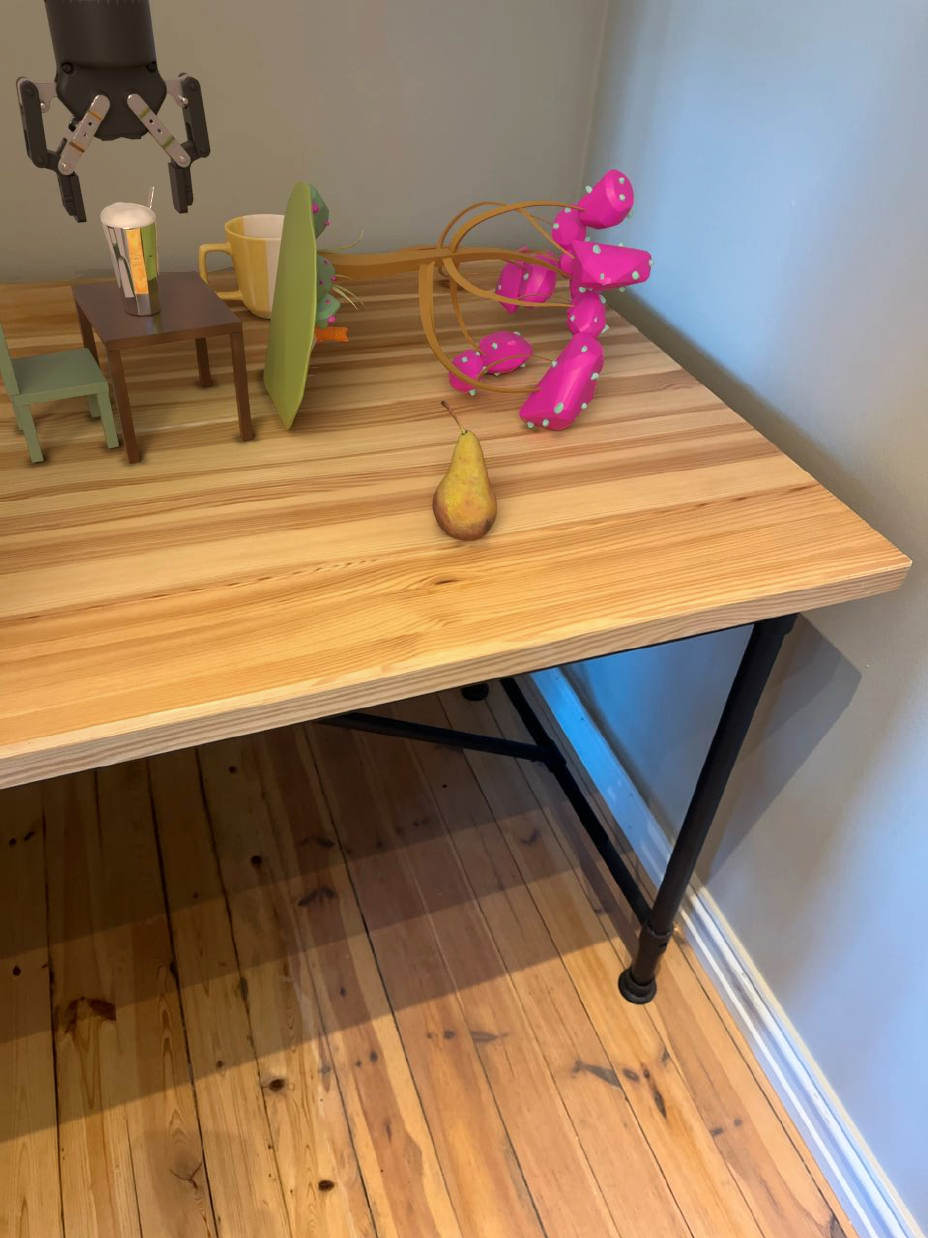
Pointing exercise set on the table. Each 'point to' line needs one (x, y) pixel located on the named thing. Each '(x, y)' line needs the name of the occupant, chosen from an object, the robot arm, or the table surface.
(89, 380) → the chair
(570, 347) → the green and pink pieces
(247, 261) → the mug
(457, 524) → the fruit
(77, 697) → the table surface
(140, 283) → the milkshake
